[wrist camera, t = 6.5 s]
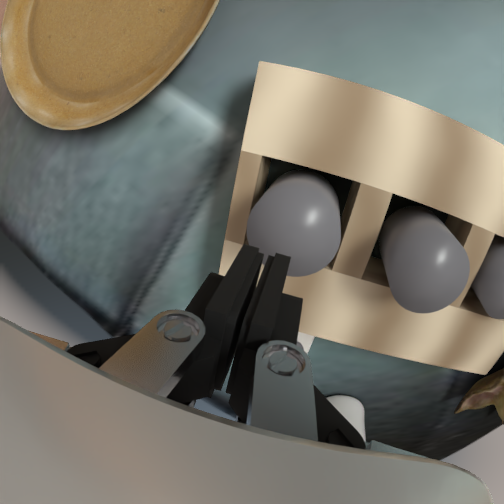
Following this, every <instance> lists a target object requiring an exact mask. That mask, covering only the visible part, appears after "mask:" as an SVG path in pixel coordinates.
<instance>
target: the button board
mask: <svg viewBox="0 0 504 504" xmlns="http://www.w3.org/2000/svg"><path fill="white" fill-rule="evenodd" d="M272 158H275V159H279V160H283V161H287V162H291V163H294V164H298V165H302V166H305V167H309V168H313V169H316V170H320V171H323V172H327V173H330V174H334V175H337V176H340V177H344V178H347V179H350V180H353V181H352V184H351V187H350V191H349V194H348V197H347V201H346V204H345V207H344V210H343V214H342V217H341V220H340V225H341V240H340V245H339V249H338V251H337V253H336V255H335V257H334V258H333V259H332V261H331V262H330V263H329V264H328V265H327V266H326V267H324V268H323V269H322V270H320V271H318V272H316V273H314V274H311V275H307V276H301V277H291V276H286V280H285V284H284V288H283V292H282V293H285V294H289V295H292V296H296V297H300V298H303V304H302V311H301V318H300V325H299V332H301V333H305V334H308V335H312V336H316V337H319V338H323V339H327V340H330V341H334V342H338V343H342V344H346V345H349V346H353V347H357V348H361V349H365V350H369V351H373V352H378V353H382V354H386V355H390V356H394V357H399V358H403V359H408V360H412V361H417V362H421V363H426V364H431V365H435V366H440V367H445V368H450V369H455V370H461V371H466V372H471V373H477V374H482V375H486V374H487V373H488V372H489V371H490V369H491V368H492V367H493V365H494V364H495V363H496V361H497V360H498V359H499V357H500V356H501V354H502V353H503V352H504V319H495V318H492V317H491V316H489V315H488V314H487V312H486V311H485V309H484V307H483V306H482V304H481V302H480V301H479V299H478V297H477V296H476V294H475V292H474V291H473V289H472V288H470V286H471V284H472V282H473V280H474V278H475V276H476V274H477V272H478V270H479V268H480V266H481V264H482V262H483V260H484V258H485V256H486V254H487V251H488V249H489V247H490V245H491V242H492V240H493V238H494V235H495V234H497V235H499V236H502V237H504V145H502V144H501V143H499V142H497V141H495V140H493V139H492V138H490V137H488V136H486V135H484V134H482V133H480V132H478V131H476V130H474V129H472V128H470V127H468V126H466V125H464V124H462V123H460V122H458V121H455V120H453V119H451V118H449V117H447V116H444V115H442V114H440V113H438V112H435V111H433V110H430V109H428V108H426V107H423V106H421V105H418V104H416V103H413V102H410V101H408V100H405V99H402V98H400V97H397V96H394V95H391V94H388V93H385V92H383V91H380V90H377V89H373V88H370V87H367V86H364V85H361V84H357V83H354V82H351V81H347V80H343V79H340V78H336V77H332V76H328V75H325V74H320V73H316V72H312V71H308V70H303V69H299V68H294V67H289V66H284V65H279V64H273V63H268V62H262V61H259V66H258V70H257V75H256V80H255V84H254V89H253V94H252V99H251V103H250V108H249V113H248V118H247V123H246V128H245V133H244V138H243V143H242V148H241V153H240V158H239V164H238V169H237V174H236V179H235V185H234V190H233V195H232V201H231V206H230V212H229V217H228V223H227V229H226V234H225V240H224V246H223V251H222V257H221V263H220V269H219V275H223V276H225V275H226V273H227V271H228V270H229V268H230V266H231V265H232V263H233V261H234V259H235V258H236V256H237V254H238V253H239V251H240V249H241V248H242V246H243V244H247V245H249V243H248V239H247V221H248V218H249V215H250V213H251V210H252V209H253V207H254V206H255V204H256V203H257V202H258V201H259V199H260V198H261V197H262V196H263V194H264V191H265V187H266V182H267V178H268V173H269V169H270V164H271V160H272ZM392 194H396V195H399V196H402V197H405V198H408V199H410V200H413V201H416V202H419V203H421V204H424V205H427V206H429V207H432V208H435V209H437V210H440V211H442V212H445V213H447V214H448V217H447V219H446V222H445V224H444V225H445V226H446V227H447V228H448V229H449V231H450V232H451V233H452V234H453V235H454V237H455V238H456V239H457V240H458V241H459V243H460V244H461V245H462V246H463V248H464V249H465V251H466V253H467V255H468V258H469V263H470V273H469V278H468V281H467V284H466V286H465V288H464V290H463V291H462V293H461V294H460V295H459V297H458V298H457V299H456V300H455V301H454V302H452V303H451V304H450V305H448V306H447V307H445V308H443V309H441V310H439V311H436V312H432V313H423V314H422V313H415V312H411V311H408V310H406V309H405V308H403V307H402V306H400V305H399V304H398V303H397V301H396V300H395V299H394V297H393V295H392V292H391V290H390V286H389V282H388V278H387V274H386V271H385V267H384V264H383V260H382V259H379V258H376V257H372V256H370V255H371V253H372V250H373V248H374V245H375V242H376V240H377V237H378V234H379V232H380V229H381V226H382V223H383V221H384V218H385V215H386V212H387V209H388V206H389V203H390V200H391V197H392ZM263 268H264V265H263V264H262V265H261V269H260V273H259V277H258V281H259V279H260V276H261V274H262V271H263ZM258 281H257V284H258ZM256 286H257V285H256Z"/></svg>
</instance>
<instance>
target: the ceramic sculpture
mask: <svg viewBox="0 0 504 504" xmlns="http://www.w3.org/2000/svg"><path fill="white" fill-rule="evenodd" d="M492 404H493V405H495V407H496V409H497V412H498V414H499V416H500V418H501V419H502V424H504V368H503V369H502V370H498V371H496V372H494V373H492V374H490V375H488V376H486V377H484V378H482V379H480V380H479V381H477V382H476V383H475V384H474V385H473V386H472V387H471V389H470V390H469V391H468V392H467V393H466V395H465V396H464V397H463V398H462V400H461V402H460V403H459V405H458V406H457V408H456V410H455V412H454V414H456V413H459V412H461V411H464V410H467V409H481V408H484V407H486V406H488V405H492Z"/></svg>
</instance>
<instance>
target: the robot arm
mask: <svg viewBox="0 0 504 504" xmlns="http://www.w3.org/2000/svg"><path fill="white" fill-rule="evenodd" d="M263 257H264V254H263V253H260V252H259V248H257V247H254V246H250V245H247V244H243V246H242V248H241V249H240V251H239V253H238V254H237V256H236V258H235V259H234V261H233V263H232V265H231V266H230V268H229V270H228V271H227V273H226V275H225V276H223V275H219V274H216V273H210V274H209V275H208V277H207V278H206V280H205V281H204V283H203V284H202V286H201V287H200V289H199V290H198V292H197V293H196V295H195V296H194V298H193V299H192V301H191V302H190V304H189V305H188V307H187V308H186V309H185V311H183V310H167V311H164V312H161V313H160V314H158V315H156V316H155V317H154V318H153V319H152V320H151V321H150V322H149V323H147V324H146V325H145V326H144V327H143V328H142V329H141V330H140V331H139V332H138V333H136V334H133V335H128V336H122V337H117V338H111V339H105V340H99V341H94V342H88V343H82V344H78V345H75V346H73V347H69V343H67V342H64V341H60V340H57V339H54V338H50V337H47V336H44V335H41V334H37V333H34V332H31V331H28V330H26V329H23V328H21V327H20V326H18V325H16V324H15V323H13V322H11V321H9V320H6V319H5V318H2V317H0V504H494V503H493V499H492V496H491V494H490V491H489V489H488V488H487V486H486V484H485V483H484V482H483V481H482V480H481V479H480V478H479V477H477V476H476V475H475V474H473V473H471V472H469V471H467V470H465V469H462V468H460V467H458V466H456V465H453V464H450V463H446V462H442V461H439V460H435V459H429V458H427V457H424V456H421V455H417V454H414V453H411V452H407V451H404V450H401V449H398V448H395V447H392V446H389V445H386V444H383V443H380V442H377V441H374V440H372V441H371V442H370V443H368V442H365V441H364V439H363V437H362V436H361V435H360V433H359V432H358V431H357V430H356V429H355V428H354V427H353V426H352V425H351V424H350V423H349V422H348V420H347V419H346V418H345V417H344V416H343V415H342V414H341V413H340V412H339V411H338V410H337V409H336V408H335V407H334V406H333V405H332V404H331V403H330V402H329V401H328V399H327V398H326V397H325V396H324V395H323V394H322V393H321V392H320V391H319V390H318V389H317V388H316V387H315V386H314V385H313V376H312V365H311V361H310V358H309V356H308V355H307V353H306V352H305V351H304V350H303V349H301V348H300V347H299V346H297V338H298V332H299V325H300V318H301V311H302V304H303V298H300V297H296V296H292V295H289V294H285V293H282V292H283V288H284V284H285V280H286V276H287V272H288V268H289V263H290V259H291V257H290V256H286V255H283V254H279V253H276V254H275V257H274V256H271V255H269V256H268V258H267V261H266V263H265V266H264V268H263V271H262V274H261V276H260V279H259V281H258V277H259V273H260V269H261V265H262V261H263ZM257 281H258V284H257ZM256 285H257V286H256ZM234 355H235V356H234ZM233 358H234V360H233ZM232 360H233V364H232V368H231V372H230V376H229V381H228V385H227V389H226V393H229V394H231V396H230V400H229V404H230V406H231V407H232V408H233V410H234V411H235V413H236V414H237V418H236V421H232V420H229V419H226V418H223V417H219V416H216V415H213V414H210V413H207V412H204V411H201V410H198V409H195V408H193V407H194V405H195V402H196V400H197V399H201V398H204V397H209V398H211V396H212V394H213V391H214V389H216V390H219V391H221V389H222V386H223V384H224V381H225V378H226V376H227V373H228V371H229V368H230V366H231V363H232Z"/></svg>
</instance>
